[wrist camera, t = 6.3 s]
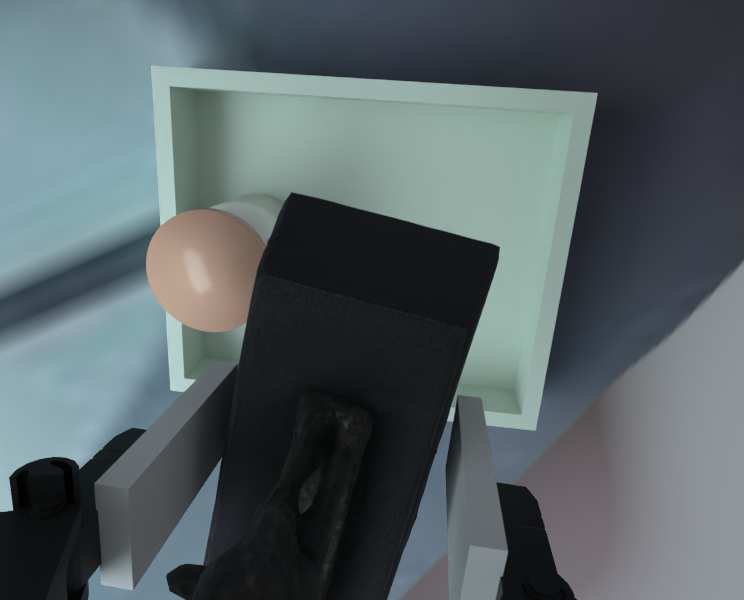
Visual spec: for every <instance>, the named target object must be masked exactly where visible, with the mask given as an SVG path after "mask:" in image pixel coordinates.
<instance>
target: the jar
mask: <svg viewBox="0 0 744 600" xmlns="http://www.w3.org/2000/svg"><path fill="white" fill-rule="evenodd" d="M283 204H284V203H283V202H281V201H280V200H278V199H276V198H274V197H272V196H268V195H265V194H247V195H243V196H240V197H237V198H234V199H232V200H229V201H226V202H223V203H221V204H218V205H215V206H212V207H209V208H199V209H193V210H190V211H186V212H183V213H180V214H178V215H176V216H174V217H172V218H170V219H169V220H167V221H166V222H165V223H164V224H163V225H161V227H160V228H159V229H158V230H157V231H156V233H155V234H154V236H153V238H152V240H151V242H150V244H149V248H148V251H147V258H146V269H147V276H148V280H149V284H150V286H151V289H152V291H153V293H154V295H155V297H156V299H157V300H158V301H159V303H160V304H161V306H162V307H163V308H164V309H165V310H166V311H167V312H168V313H169V314H170V315H171V316H172V317H174V318H175V319H176V320H178V321H179V322H181V323H183V324H185V325H186V326H189V327H191V328H194V329H197V330H200V331H206V332H224V331H229V330H232V329H235V328H238V327H240V326H241V325H243V324H245V323H246V322H247V318H248V312H249V307H250V301H251V296H252V291H253V287H254V282H255V277H256V273H257V268H258V265H259V263H260V260H261V257H262V254H263V251H264V249H265V248H266V245H267V241H268V239H269V238H270V236H271V234H272V231H273V228H274V225H275V223H276V220H277V217H278V214H279V212H280V210H281V209H282V207H283Z"/></svg>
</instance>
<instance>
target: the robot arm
mask: <svg viewBox="0 0 744 600" xmlns="http://www.w3.org/2000/svg"><path fill="white" fill-rule="evenodd" d="M237 371H238V363H231V362H223V361H216V360H215V361H214V362H213V363H212V364H211V365H210V366H209V367H208V368H207V370H206V371H205V372H204V373H203V374H202V375H201V376H200V377H199V378H198V379H197V380H196V381H195V382H194V383H193V384H192V385H191V386H190V387H189V388H188V389H187V390H186V391H185V392H184V393H183V394H182V395H181V396H180V397H179V398H178V399H177V400H176V401H175V402H174V403H173V404H172V405H171V406H170V407H169V408H168V409H167V410H166V411H165V412H164V413H163V414H162V415H161V416H160V417H159V418H158V419H157V420H156V421H155V422H154V423H153V424H152V425H151V426H150V427H149V429H148V430H144V429H137V428H131V429H129V430H127V431H125V432H123V433H121V434H119V435H117V436H115V437H114V438H113V439H112V440H111V441H110V442H108V443H107V444H106V445H105V446H104V447H103V449H102V450H100V451H99V452H98V453H97V454H96V455H95V456H94V457H93V459H90V460H89V461H88V462H87V463H86V464H85V465H84V466H83V467H82V468H81V469H80V470H79V466H78V465H77V463H76V462H75V461H73V460H71V459H68V458H62V457H51V458H44V459H39V460H36V461H33V462H30V463H28V464H26V465H24V466H22V467H21V468H19V469H17V470H16V471H15V472H14V473H13V474H12V475H11V476H10V477H9V479H10V487H11V495H12V502H13V511H8V512H0V600H88V596H89V586H88V579H89V578H90V577H91V576H92V574H93V573H94V572H95V571H96V569H97V568H98V567H99V565H100V573H101V585H106V586H112V587H117V588H123V589H128V590H134V588H135V587H136V585H137V584H138V582H139V581H140V579H141V578H142V576H143V575H144V573H145V572H146V570H147V569H148V567H149V566H150V564H151V563H152V561H153V560H154V558H155V557H156V555H157V554H158V552H159V551H160V549H161V548H162V546H163V545H164V543H165V542H166V540H167V539H168V537H169V536H170V534H171V533H172V531H173V530H174V528H175V527H176V525H177V524H178V522H179V521H180V519H181V518H182V516H183V515H184V513H185V512H186V510H187V509H188V507H189V506H190V504H191V503H192V501H193V500H194V498H195V497H196V495H197V494H198V492H199V491H200V489H201V488H202V486H203V485H204V483H205V482H206V480H207V479H208V477H209V476H210V474H211V473H212V471H213V470H214V468H215V467H216V465H217V464H218V462H219V461H220V459H221V458H222V456H223V452H224V447H225V441H226V435H227V430H228V425H229V420H230V414H231V407H232V401H233V395H234V388H235V382H236V376H237ZM446 499H447V534H448V568H449V569H448V570H449V600H577V599H576V598H574V593H573V591H572V590H571V588H570V586H569V584H568V583H567V582H565V580H564V579H563V578H561V576H559V575H558V573H557V570H556V566H555V563H554V559H553V555H552V552H551V548H550V544H549V541H548V537H547V534H546V531H545V526H544V523H543V519H542V518H541V512H540V508H539V505H538V501H537V500H536V499H535V497H534V496H533V495H532V494H531V492H530V491H529V490H528V489H527V488H526V487H523V486H516V485H510V484H503V483H497V482H496V478H495V472H494V467H493V461H492V455H491V449H490V444H489V438H488V432H487V426H486V421H485V415H484V409H483V403H482V398H478V397H471V396H464V395H457V402H456V408H455V414H454V420H453V426H452V432H451V438H450V444H449V450H448V456H447V462H446Z"/></svg>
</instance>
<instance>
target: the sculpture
mask: <svg viewBox="0 0 744 600" xmlns="http://www.w3.org/2000/svg"><path fill="white" fill-rule="evenodd" d="M499 251H500V247H499V246H496V245H494V244H492V243H488V242H484V241H479V240H475V239H472V238H468V237H464V236H461V235H457V234H453V233H450V232H446V231H442V230H438V229H434V228H430V227H426V226H423V225H419V224H416V223H412V222H409V221H405V220H401V219H397V218H393V217H389V216H385V215H381V214H377V213H373V212H369V211H365V210H362V209H358V208H354V207H350V206H346V205H343V204H339V203H335V202H332V201H328V200H324V199H320V198H316V197H311V196H307V195H302V194H298V193H293V192H291V193H290V195H289V196H288V198H287V199H286V200H285V202H284V204H283V207H282V209H281V210H280V212H279V214H278V217H277V220H276V223H275V225H274V228H273V231H272V234H271V236H270V238H269V239H268V241H267V245H266V248H265V249H264V251H263V254H262V257H261V260H260V263H259V265H258V268H257V273H256V277H255V282H254V287H253V291H252V296H251V301H250V307H249V312H248V318H247V323H246V328H245V333H244V339H243V344H242V349H241V355H240V360H239V365H238V371H237V376H236V382H235V388H234V395H233V401H232V407H231V414H230V420H229V425H228V430H227V435H226V441H225V447H224V452H223V456H222V461H221V467H220V473H219V480H218V487H217V494H216V501H215V506H214V511H213V516H212V521H211V527H210V532H209V537H208V543H207V548H206V554H205V559H204V565H194V564H184V565H180V566H179V567H177V568H175V569H174V570H172V571H171V572H169V573H168V574H167V576H166V578H167V582H168V586H169V590H170V591H171V592H173V593H174V594H176V595H178V596H180V597H182V598H184V599H185V600H387V598H388V595H389V592H390V589H391V586H392V583H393V580H394V577H395V574H396V571H397V568H398V565H399V562H400V559H401V556H402V553H403V550H404V548H405V546H406V543H407V541H408V539H409V536H410V532H411V529H412V526H413V524H414V522H415V520H416V518H417V513H418V508H419V505H420V502H421V499H422V496H423V493H424V490H425V487H426V483H427V479H428V475H429V472H430V469H431V466H432V463H433V460H434V457H435V454H436V453H437V448H438V445H439V442H440V439H441V437H442V434H443V431H444V428H445V425H446V422H447V419H448V416H449V413H450V409H451V405H452V402H453V399H454V396H455V393H456V389H457V386H458V383H459V380H460V377H461V374H462V371H463V368H464V365H465V362H466V359H467V356H468V353H469V350H470V347H471V344H472V341H473V338H474V335H475V332H476V329H477V326H478V323H479V320H480V317H481V314H482V311H483V308H484V305H485V302H486V299H487V296H488V292H489V290H490V287H491V283H492V281H493V278H494V274H495V271H496V268H497V264H498V260H499Z"/></svg>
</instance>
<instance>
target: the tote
mask: <svg viewBox="0 0 744 600" xmlns="http://www.w3.org/2000/svg"><path fill="white" fill-rule="evenodd" d="M151 74H152V91H153V107H154V124H155V140H156V157H157V174H158V190H159V207H160V224H161V225H163V224H164V223H165V222H166V221H167V220H169V219H170V218H172V217H174V216H176V215H178V214H180V213H183V212H186V211H190V210H193V209H199V208H209V207H212V206H215V205H218V204H221V203H223V202H226V201H229V200H232V199H234V198H237V197H240V196H243V195H247V194H265V195H268V196H272V197H274V198H276V199H278V200H280V201H281V202H283V203H284V202H285V200H286V199H287V198H288V196H289V195H290V193H291V192H293V193H298V194H302V195H307V196H311V197H316V198H320V199H324V200H328V201H332V202H335V203H339V204H343V205H346V206H350V207H354V208H358V209H362V210H365V211H369V212H373V213H377V214H381V215H385V216H389V217H393V218H397V219H401V220H405V221H409V222H412V223H416V224H419V225H423V226H426V227H430V228H434V229H438V230H442V231H446V232H450V233H453V234H457V235H461V236H464V237H468V238H472V239H475V240H479V241H484V242H488V243H492V244H494V245H496V246H499V247H500V251H499V260H498V264H497V268H496V271H495V274H494V278H493V281H492V283H491V287H490V290H489V292H488V296H487V299H486V302H485V305H484V308H483V311H482V314H481V317H480V320H479V323H478V326H477V329H476V332H475V335H474V338H473V341H472V344H471V347H470V350H469V353H468V356H467V359H466V362H465V365H464V368H463V371H462V374H461V377H460V380H459V383H458V386H457V389H456V393H455V396H454V399H453V402H452V405H451V409H450V413H449V416H448V419H447V421H453V420H454V414H455V408H456V402H457V395H464V396H471V397H478V398H482V403H483V409H484V415H485V421H486V425H489V426H498V427H507V428H516V429H525V430H534V431H536V426H537V420H538V415H539V410H540V404H541V399H542V393H543V388H544V382H545V377H546V372H547V366H548V361H549V355H550V350H551V344H552V339H553V334H554V328H555V323H556V317H557V312H558V306H559V301H560V296H561V290H562V285H563V279H564V274H565V268H566V263H567V258H568V252H569V247H570V241H571V236H572V230H573V225H574V220H575V214H576V209H577V203H578V198H579V192H580V187H581V182H582V176H583V171H584V165H585V160H586V154H587V149H588V144H589V138H590V133H591V127H592V122H593V116H594V111H595V105H596V100H597V95H598V93H589V92H573V91H557V90H540V89H524V88H508V87H492V86H475V85H459V84H443V83H426V82H410V81H394V80H377V79H361V78H345V77H329V76H312V75H296V74H280V73H263V72H247V71H231V70H214V69H198V68H182V67H165V66H151ZM166 323H167V340H168V356H169V373H170V390H171V391H180V392H185V391H186V390H187V389H188V388H189V387H190V386H191V385H192V384H193V383H194V382H195V381H196V380H197V379H198V378H199V377H200V376H201V375H202V374H203V373H204V372H205V371H206V370H207V368H208V367H209V366H210V365H211V364H212V363H213V362H214V361H215V360H216V361H223V362H231V363H238V365H239V360H240V355H241V349H242V344H243V339H244V333H245V328H246V323H247V322H246V323H245V324H243V325H241V326H240V327H238V328H235V329H232V330H229V331H224V332H206V331H200V330H197V329H194V328H191V327H189V326H186V325H185V324H183V323H181V322H179V321H178V320H176V319H175V318H174V317H172V316H171V315H170V314H169V313H168V312H167V311H166Z"/></svg>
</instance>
